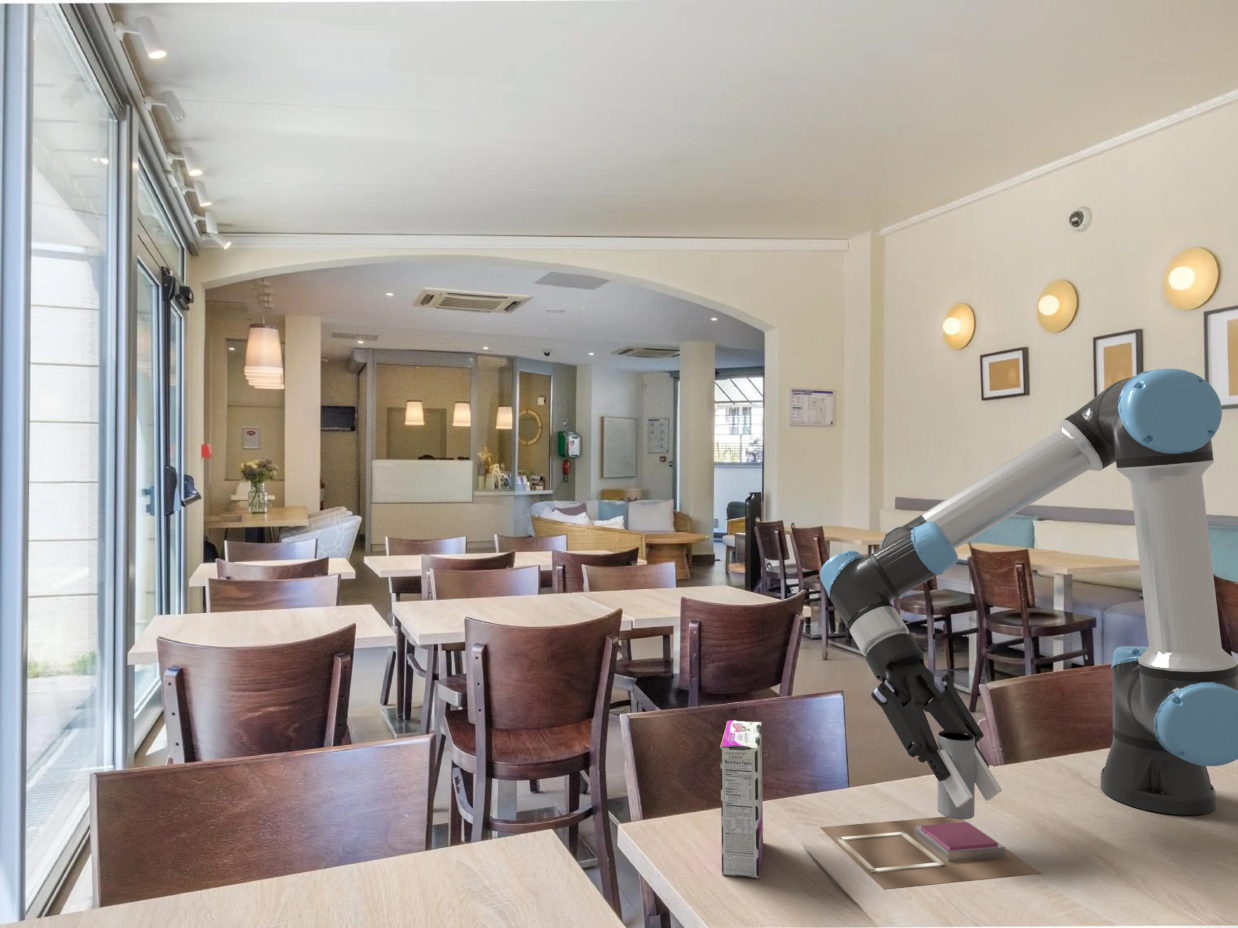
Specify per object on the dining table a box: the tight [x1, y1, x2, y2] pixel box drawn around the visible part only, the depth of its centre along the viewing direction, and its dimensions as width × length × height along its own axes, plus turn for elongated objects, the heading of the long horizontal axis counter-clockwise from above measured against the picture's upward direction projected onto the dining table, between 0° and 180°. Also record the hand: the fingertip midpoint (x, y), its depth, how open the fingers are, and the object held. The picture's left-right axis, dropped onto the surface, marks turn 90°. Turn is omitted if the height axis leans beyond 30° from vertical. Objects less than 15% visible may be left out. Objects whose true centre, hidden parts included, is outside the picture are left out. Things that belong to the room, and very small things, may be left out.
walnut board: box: [819, 816, 1043, 890], centre depth 113 cm, size 21×18×1 cm
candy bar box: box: [719, 720, 764, 879], centre depth 112 cm, size 11×5×16 cm, turn 168°
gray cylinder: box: [937, 730, 976, 821], centre depth 114 cm, size 4×4×10 cm
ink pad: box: [915, 821, 1006, 862], centre depth 114 cm, size 8×8×2 cm
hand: (979, 798), depth 110 cm, fingers closed on gray cylinder, 4 cm apart
